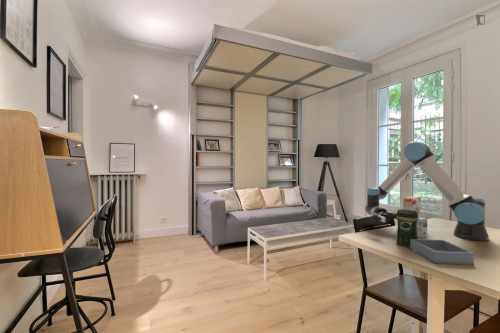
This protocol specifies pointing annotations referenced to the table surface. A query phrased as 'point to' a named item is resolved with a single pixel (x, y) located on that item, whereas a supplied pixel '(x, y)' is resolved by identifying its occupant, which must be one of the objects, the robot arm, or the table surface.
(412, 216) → the coffee jar
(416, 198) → the cracker box
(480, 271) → the table surface
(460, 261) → the tray
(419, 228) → the light bulb box
